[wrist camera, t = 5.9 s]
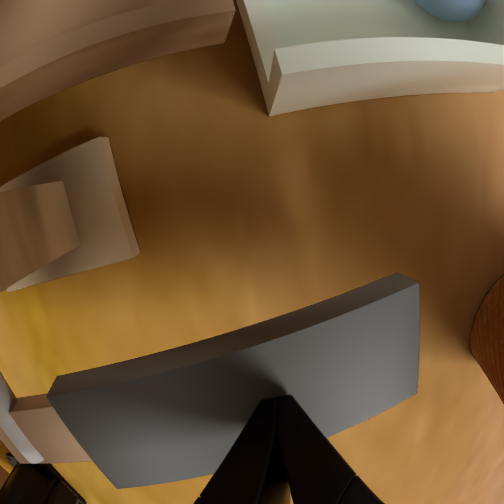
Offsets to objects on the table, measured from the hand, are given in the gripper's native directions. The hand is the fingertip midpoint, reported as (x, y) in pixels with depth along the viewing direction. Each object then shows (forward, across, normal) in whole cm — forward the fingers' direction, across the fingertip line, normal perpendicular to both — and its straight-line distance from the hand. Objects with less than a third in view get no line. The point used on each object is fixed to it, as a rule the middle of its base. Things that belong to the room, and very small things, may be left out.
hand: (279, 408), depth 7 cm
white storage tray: (+6, -7, -12) cm, 15 cm away
